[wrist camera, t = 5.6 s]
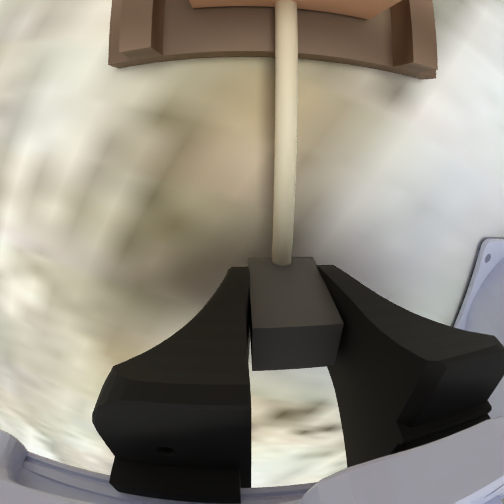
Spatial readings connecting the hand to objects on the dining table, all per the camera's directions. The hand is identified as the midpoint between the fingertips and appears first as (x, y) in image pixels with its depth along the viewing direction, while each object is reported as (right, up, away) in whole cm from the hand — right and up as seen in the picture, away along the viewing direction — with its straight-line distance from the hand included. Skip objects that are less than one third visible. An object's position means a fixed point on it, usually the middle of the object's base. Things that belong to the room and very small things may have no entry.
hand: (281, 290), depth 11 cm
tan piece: (0, +7, -2) cm, 7 cm away
